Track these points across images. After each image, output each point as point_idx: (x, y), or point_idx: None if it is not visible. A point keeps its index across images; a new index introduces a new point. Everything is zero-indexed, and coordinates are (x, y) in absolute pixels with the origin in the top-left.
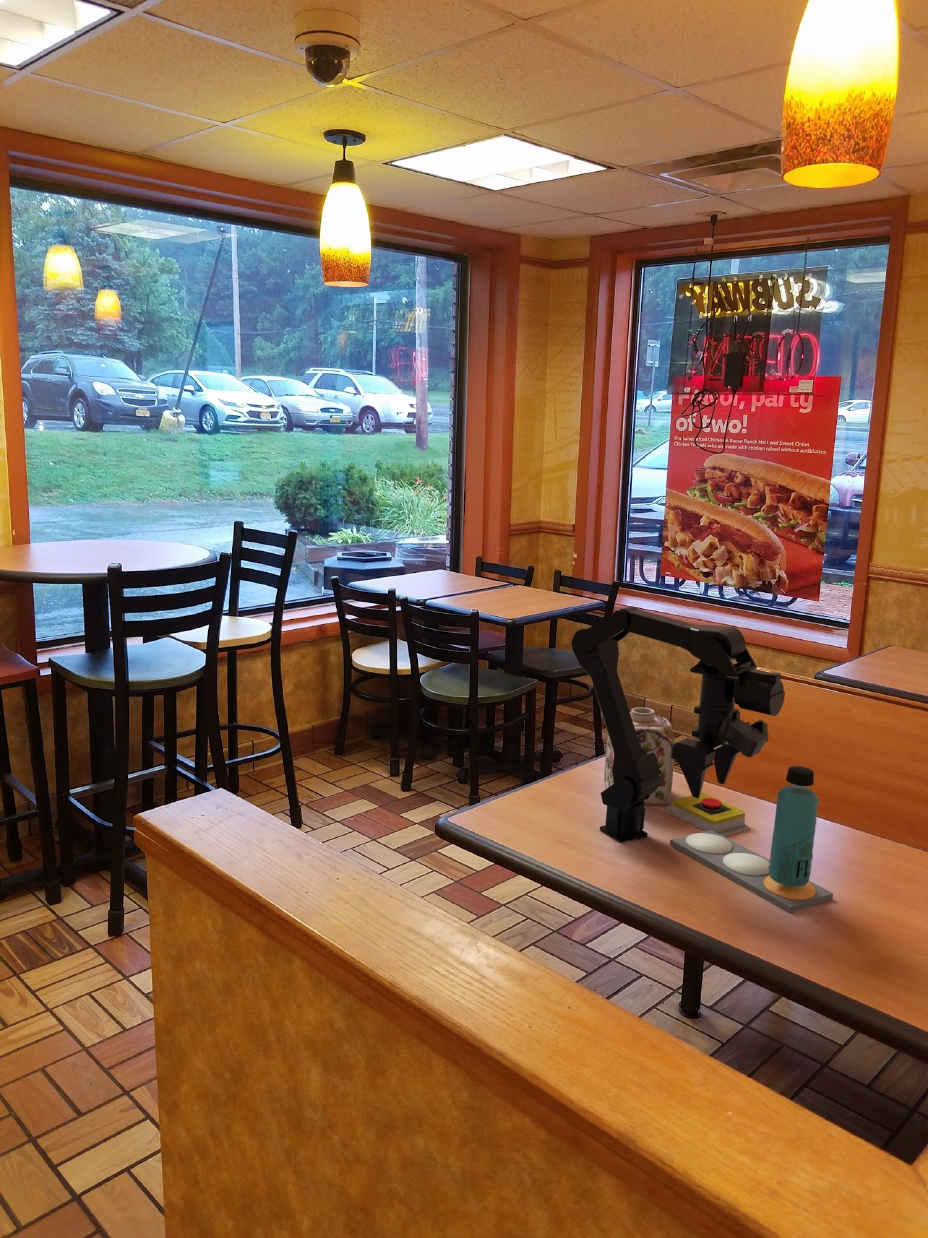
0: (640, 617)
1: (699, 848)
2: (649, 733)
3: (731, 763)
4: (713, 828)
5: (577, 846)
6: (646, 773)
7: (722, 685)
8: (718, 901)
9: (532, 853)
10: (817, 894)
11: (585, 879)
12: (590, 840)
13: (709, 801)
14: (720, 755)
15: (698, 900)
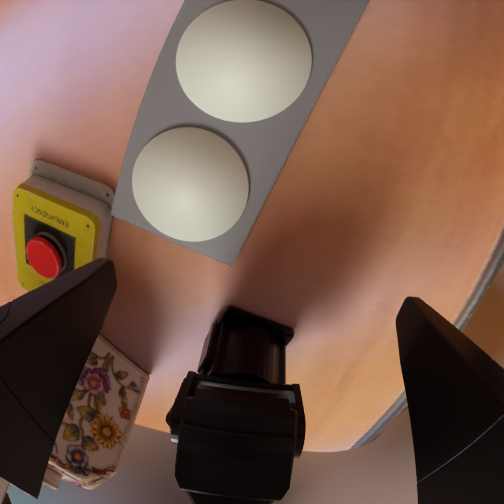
0: None
1: (239, 194)
2: (59, 456)
3: (11, 321)
4: (102, 212)
5: (348, 365)
6: (256, 453)
7: None
8: (444, 84)
9: (398, 386)
10: None
11: (455, 312)
12: (313, 362)
13: (43, 264)
14: (33, 411)
15: (460, 123)
